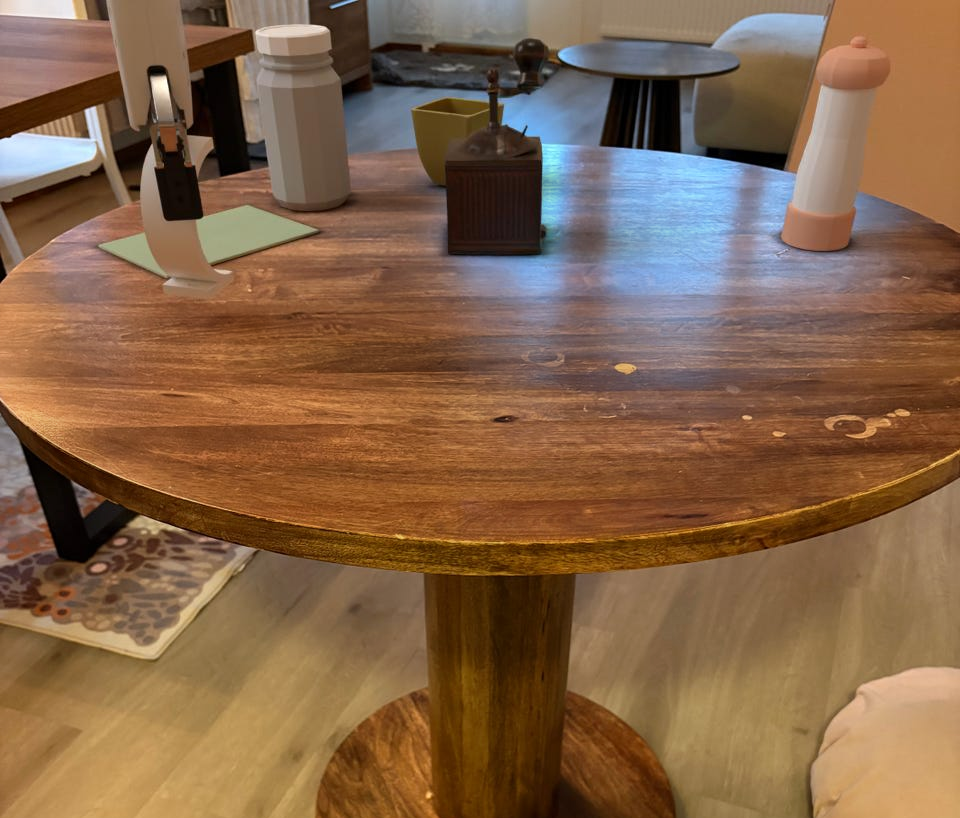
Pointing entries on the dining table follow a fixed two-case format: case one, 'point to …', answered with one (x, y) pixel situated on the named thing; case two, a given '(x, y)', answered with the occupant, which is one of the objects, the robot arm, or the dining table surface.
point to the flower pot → (446, 129)
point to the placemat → (220, 237)
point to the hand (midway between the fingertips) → (181, 203)
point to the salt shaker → (835, 148)
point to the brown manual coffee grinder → (498, 174)
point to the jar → (302, 117)
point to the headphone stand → (179, 235)
